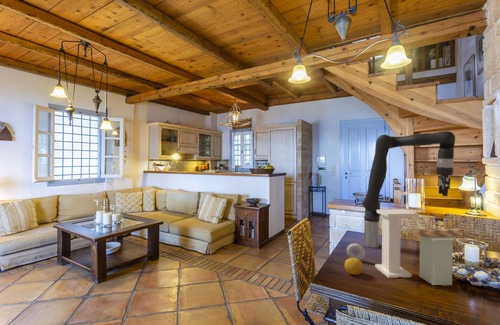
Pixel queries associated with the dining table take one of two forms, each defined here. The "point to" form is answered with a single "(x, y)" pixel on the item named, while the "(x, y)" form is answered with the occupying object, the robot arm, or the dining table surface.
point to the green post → (436, 260)
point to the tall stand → (392, 242)
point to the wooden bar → (436, 233)
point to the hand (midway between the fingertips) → (442, 194)
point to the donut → (358, 247)
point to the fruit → (353, 266)
